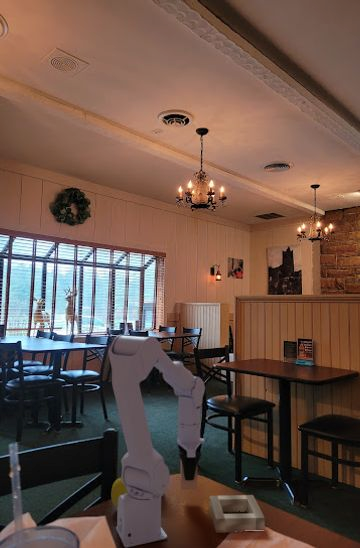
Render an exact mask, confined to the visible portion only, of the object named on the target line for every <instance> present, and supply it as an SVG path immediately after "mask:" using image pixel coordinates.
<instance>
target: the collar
mask: <svg viewBox="0 0 360 548" xmlns="http://www.w3.org/2000/svg"><path fill="white" fill-rule="evenodd" d="M209 510H210V515H211V519H212V523H213V526H214V530H215V533H219V534H220V533H222V534H223V533H236V532H235V531H245V530H266V524H265V518H266V517H265V516H264V513H263V511H262V510H261V507H260V506H259V504H258V502H257V500H256V498H255V495H254V494H242V495H241V494H240V495H239V494H238V495H237V494H236V495H233V494H232V495H227V494H226V495H209ZM239 511H240V512H241V513H240V512H239ZM245 511H246V512H247V513H246V512H245ZM233 512H234V513H233ZM236 512H237V513H236ZM242 512H243V513H242ZM244 512H245V513H244Z"/></svg>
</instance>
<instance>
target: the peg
mask: <svg viewBox="0 0 360 548" xmlns="http://www.w3.org/2000/svg"><path fill="white" fill-rule="evenodd" d="M195 452H197V451H195ZM179 481H180V489H181V490H197V489H198V466H197V467H196V471H195V476H194V480H185V476H184V469H183V464H182V460H181V459H180V478H179Z"/></svg>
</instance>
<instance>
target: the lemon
mask: <svg viewBox="0 0 360 548" xmlns="http://www.w3.org/2000/svg"><path fill="white" fill-rule="evenodd" d="M111 487H112V488H111V493H110V497H111V501H112V504H113V506H114V507H115V508H117V509H118V498H119V496H121V495H124V494H126V493H128V491H126V485H124V483H123V482H122V477H121V476H120V477H119V478H117V479H116V480H115V481H114V482H113V484H112V486H111Z"/></svg>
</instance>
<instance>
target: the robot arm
mask: <svg viewBox="0 0 360 548" xmlns="http://www.w3.org/2000/svg"><path fill="white" fill-rule="evenodd" d="M107 353H108V357H109V361H110V365H111V384H112V390H113V393H114V397H115V403H116V405H117V406H116V407H117V410H118V415H119V420H120V424H121V429H122V432H123V436H124V437H123V438H124V441H125V444H126V448H127V452H126V453H125V454H124V455H123V457H122V458H121V460H120V463H121V476H120V478H121V477H122V482H123V483H124V485H126V491H128V493H126V494H124V495H121V496H119V498H118V508H117V513H116V515H117V518H116V519H117V520H116V521H117V523H116V532H117V534H118V536H119V538H120V540H121V543H122V545H123V546H124V548H130V547H136V546H139V545H143V544H150V543H154V542H158V541H162V540H166V539H167V538H168V535H167V533H166V532H165V531H164V529H163V528H162V526H161V525H162V497H161V495H162V494H163V493H164V494H165V492H166V490H167V488H168V486H169V483H170V477H171V476H170V470H169V467H168V466H167V464H165V460H164V457H163V456H162V455H161V454H160V453H159V451H157V450H156V449H155V448H154V446H153V442H152V437H151V433H150V430H149V429H150V428H149V424H148V419H147V416H146V415H147V414H146V410H145V405H144V401H143V397H142V392H141V387H140V383H141V382H142V381H144V380H146V379H147V377H148V376H149V374H150V373H151V371H152V370H153V368H154V367H155V368H156V369H157V370H158V371H160V372H161V373H162V378H163V380H164V381H165V382H166V383H167V384H168V385H169V386H171V387H172V388H173V392H174V395H175V397H178V409H177V410H178V411H177V412H178V415H177V416H178V417H177V419H178V423H177V424H178V426H177V429H178V432H177V440H176V441H177V442H176V443H177V448H178V456H179V458H180V461H181V460H182V464H183V469H184V476H185V480H194V476H195V471H196V467H197V468H198V462H199V461H200V460H201V457H202V452H200V451H198V449H199V447H200V445H201V444H205V443H206V442H205V438H202V437H201V406H202V404H203V397H204V394H205V389H206V386H205V382H204V381H203V379H202V378H201V377H200V376H195V375H193V373H192V371H191V370H189V369H187V368H186V367H185V366H184V362H183V361H179V360H178V361H173V360H172V359H171V358H170V357H169V356H168V354H167V353H165V351H164V350H163V349H162V343H161V342H160V341H159V340H157V338H156V337H154V336H135V335H126V334H118V335H116V336H115V337H114V338H113V340H112V342H111V344H110V347H109V349H108V352H107ZM195 451H196V452H195Z"/></svg>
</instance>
